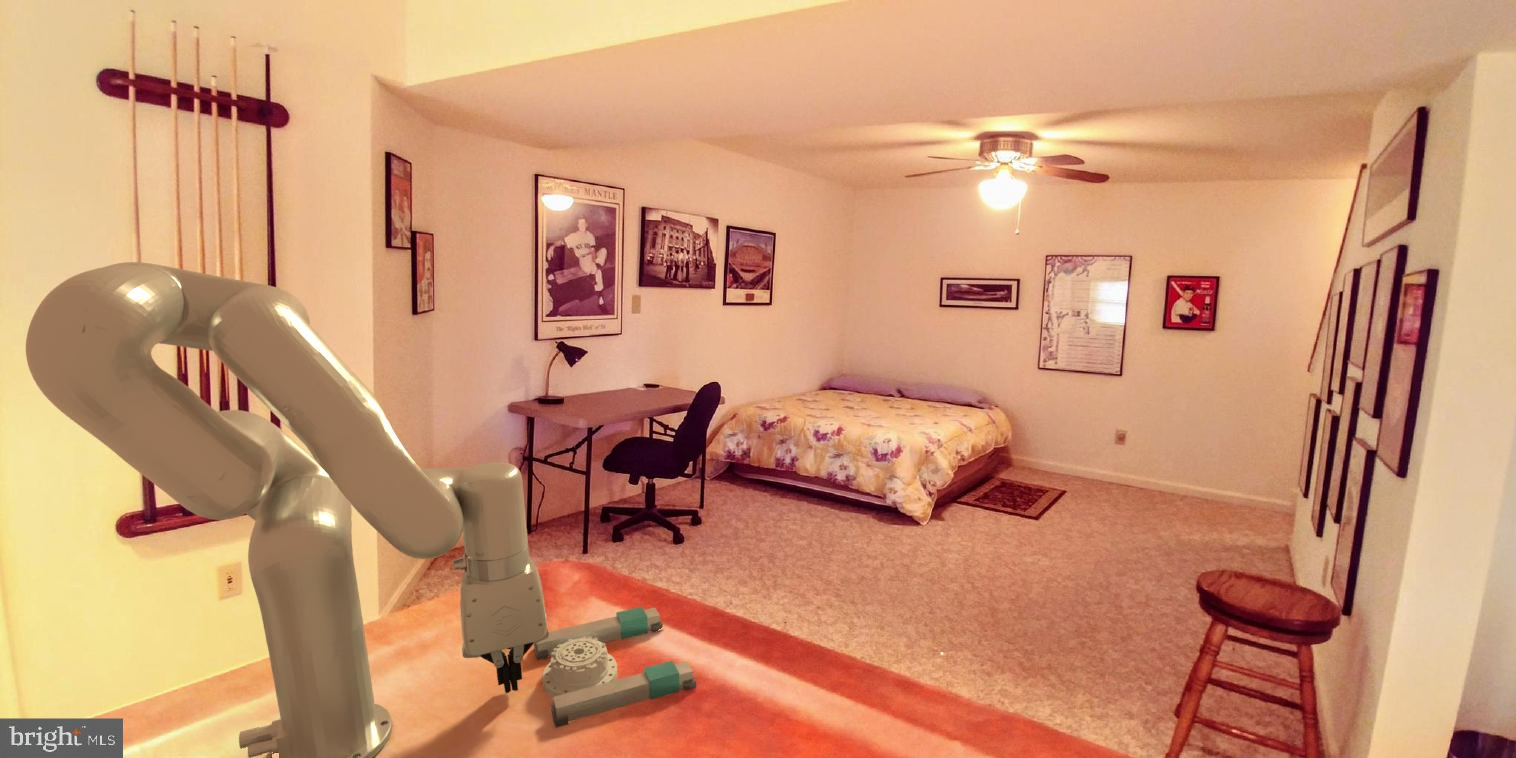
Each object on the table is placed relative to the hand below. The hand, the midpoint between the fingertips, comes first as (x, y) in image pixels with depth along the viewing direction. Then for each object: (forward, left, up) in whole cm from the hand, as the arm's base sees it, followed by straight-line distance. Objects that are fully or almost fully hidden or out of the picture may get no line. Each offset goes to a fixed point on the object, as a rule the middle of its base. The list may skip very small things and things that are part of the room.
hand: (510, 685), depth 97 cm
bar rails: (+13, 0, -1) cm, 14 cm away
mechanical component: (+9, -1, -2) cm, 9 cm away
